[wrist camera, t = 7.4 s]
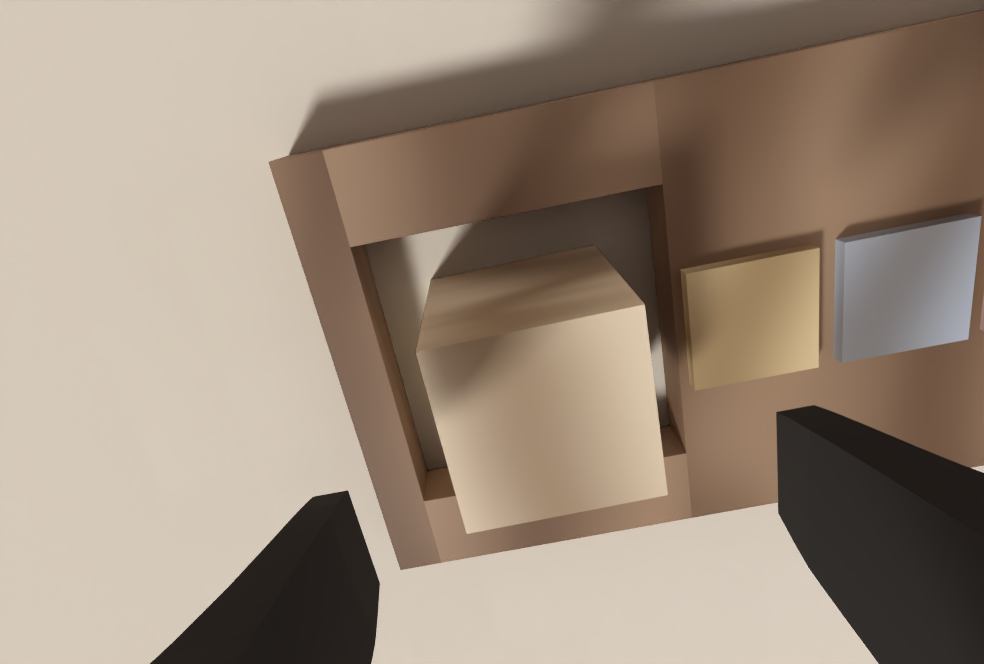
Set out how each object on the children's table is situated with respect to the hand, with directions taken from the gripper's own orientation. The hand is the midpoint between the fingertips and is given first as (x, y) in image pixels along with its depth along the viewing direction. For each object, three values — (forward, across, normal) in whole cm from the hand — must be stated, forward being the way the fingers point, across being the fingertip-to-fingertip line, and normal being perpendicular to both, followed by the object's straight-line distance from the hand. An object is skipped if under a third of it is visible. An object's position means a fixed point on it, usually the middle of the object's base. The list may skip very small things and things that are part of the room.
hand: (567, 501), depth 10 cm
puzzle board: (+7, -7, 0) cm, 10 cm away
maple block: (+8, 0, 0) cm, 8 cm away
